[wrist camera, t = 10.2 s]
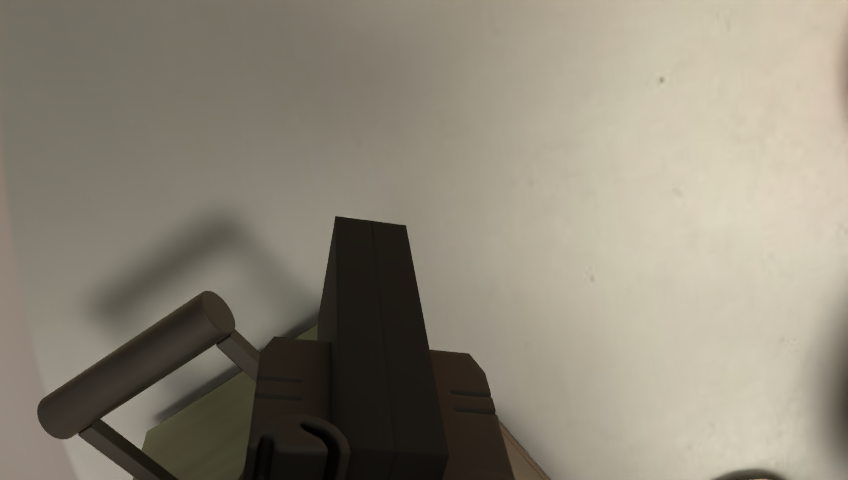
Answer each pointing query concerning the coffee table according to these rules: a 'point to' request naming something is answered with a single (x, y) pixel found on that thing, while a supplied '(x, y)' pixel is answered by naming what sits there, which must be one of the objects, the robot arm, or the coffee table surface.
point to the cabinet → (521, 460)
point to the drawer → (184, 431)
